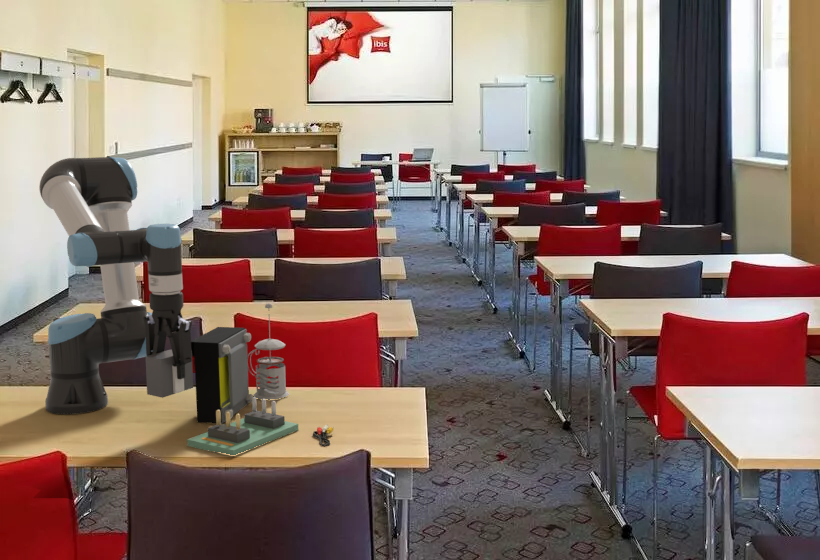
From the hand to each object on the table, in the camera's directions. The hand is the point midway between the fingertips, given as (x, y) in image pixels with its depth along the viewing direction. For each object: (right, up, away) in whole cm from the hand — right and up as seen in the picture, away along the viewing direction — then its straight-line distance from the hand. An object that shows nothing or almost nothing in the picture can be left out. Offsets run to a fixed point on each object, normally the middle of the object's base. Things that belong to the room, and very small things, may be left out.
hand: (170, 389), depth 222 cm
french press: (+18, -5, +32) cm, 37 cm away
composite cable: (+36, -11, -4) cm, 38 cm away
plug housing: (0, 0, 0) cm, 0 cm away
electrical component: (+9, -8, +17) cm, 21 cm away
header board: (+18, -11, -3) cm, 21 cm away
